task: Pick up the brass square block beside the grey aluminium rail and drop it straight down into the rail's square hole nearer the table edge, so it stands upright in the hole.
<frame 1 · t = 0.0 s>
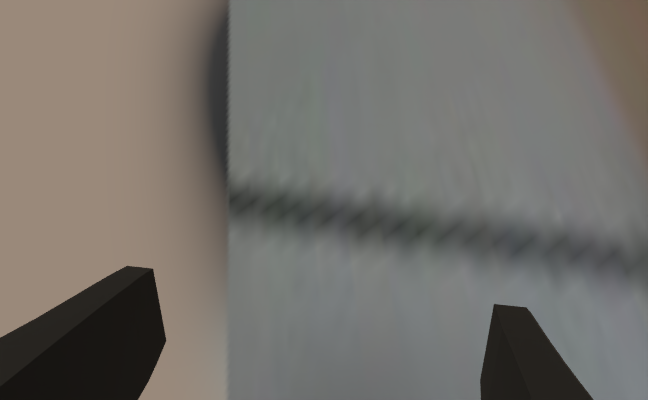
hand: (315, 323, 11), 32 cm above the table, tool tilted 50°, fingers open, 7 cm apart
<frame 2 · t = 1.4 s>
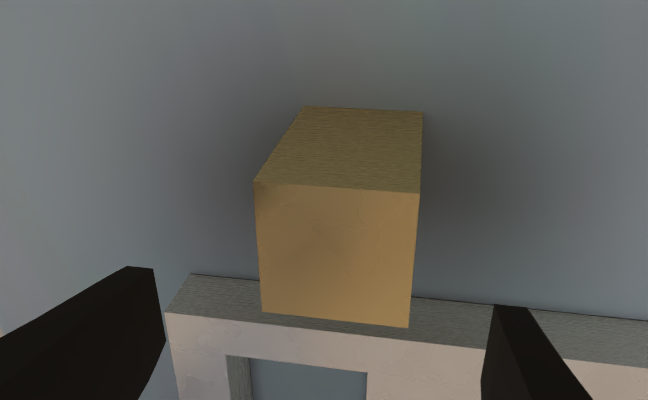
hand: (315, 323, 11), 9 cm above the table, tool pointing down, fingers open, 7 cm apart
rail: (423, 383, 23), on the table
brass block: (360, 163, 19), on the table
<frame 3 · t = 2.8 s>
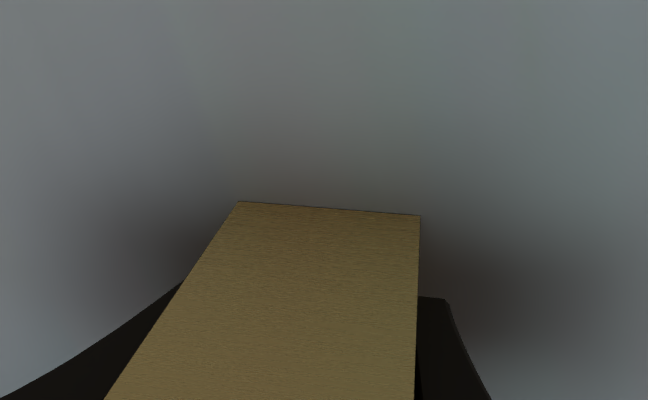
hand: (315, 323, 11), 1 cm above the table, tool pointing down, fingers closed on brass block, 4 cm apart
brass block: (326, 283, 13), on the table, touching gripper
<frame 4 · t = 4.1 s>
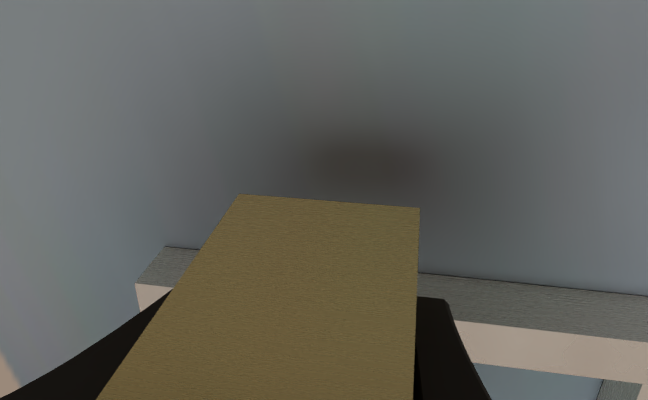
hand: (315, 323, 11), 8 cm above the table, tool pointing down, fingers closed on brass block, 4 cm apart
rail: (403, 360, 22), on the table
brass block: (327, 275, 13), point 7 cm above the table, touching gripper
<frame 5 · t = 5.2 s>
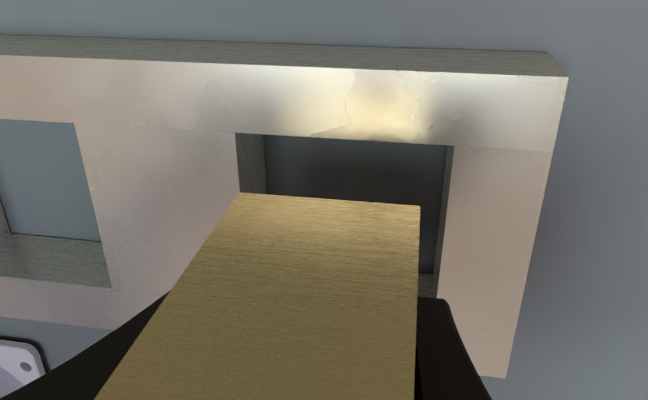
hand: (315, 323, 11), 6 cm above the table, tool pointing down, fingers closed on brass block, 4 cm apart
rail: (199, 181, 18), on the table
brass block: (327, 274, 13), point 5 cm above the table, touching gripper
when the fingers open (4 cm above the table, at t = 5.9 s): brass block drops 3 cm, resting in rail.
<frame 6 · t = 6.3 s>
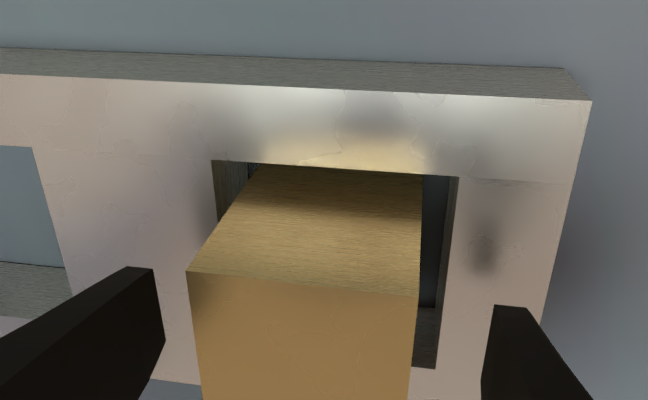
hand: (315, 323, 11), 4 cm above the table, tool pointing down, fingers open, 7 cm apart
rail: (178, 206, 16), on the table
brass block: (345, 214, 15), resting in rail
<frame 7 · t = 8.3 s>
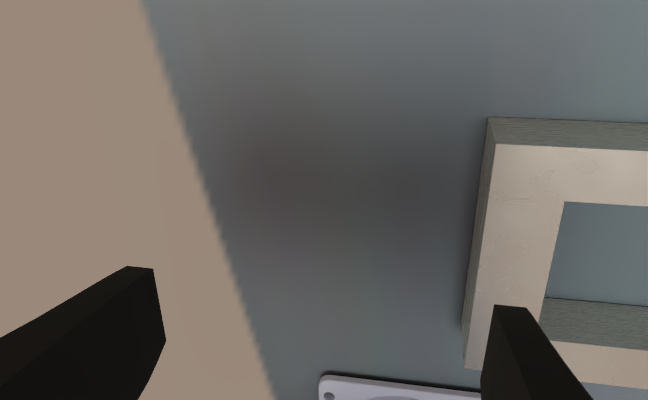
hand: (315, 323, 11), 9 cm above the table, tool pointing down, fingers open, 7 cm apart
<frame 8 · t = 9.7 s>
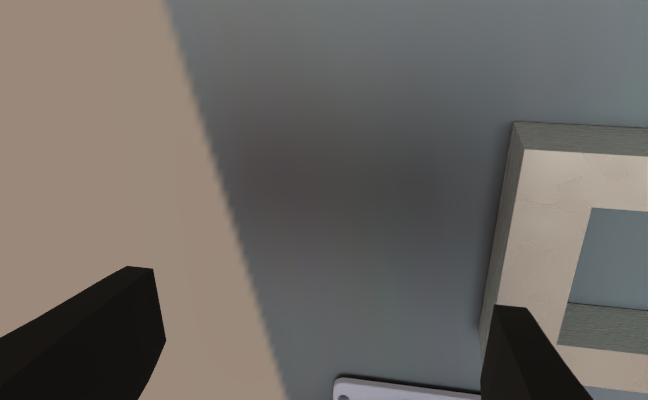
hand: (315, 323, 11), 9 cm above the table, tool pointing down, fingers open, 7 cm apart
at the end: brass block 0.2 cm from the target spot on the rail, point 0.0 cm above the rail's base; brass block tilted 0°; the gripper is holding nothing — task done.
